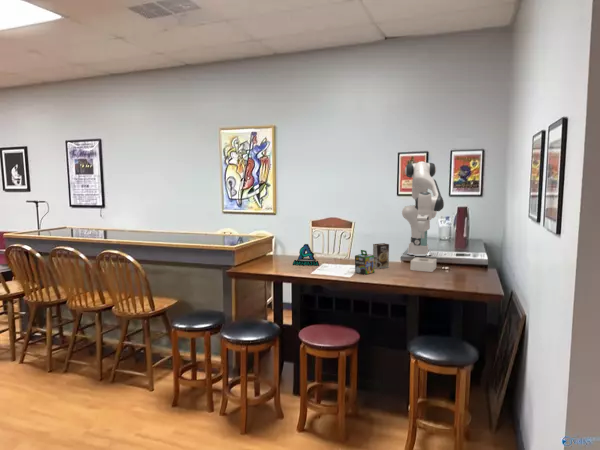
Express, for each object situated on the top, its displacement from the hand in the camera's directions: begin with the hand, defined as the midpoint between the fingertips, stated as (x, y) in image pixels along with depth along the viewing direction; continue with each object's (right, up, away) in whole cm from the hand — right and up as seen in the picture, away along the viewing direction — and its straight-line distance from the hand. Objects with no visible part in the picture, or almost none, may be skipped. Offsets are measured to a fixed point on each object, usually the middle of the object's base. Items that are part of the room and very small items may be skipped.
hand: (424, 237), depth 272 cm
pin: (0, -5, +1) cm, 5 cm away
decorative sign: (-78, -20, +20) cm, 83 cm away
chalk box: (-40, -23, -6) cm, 46 cm away
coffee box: (-27, -21, +9) cm, 35 cm away
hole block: (0, -21, +2) cm, 21 cm away
